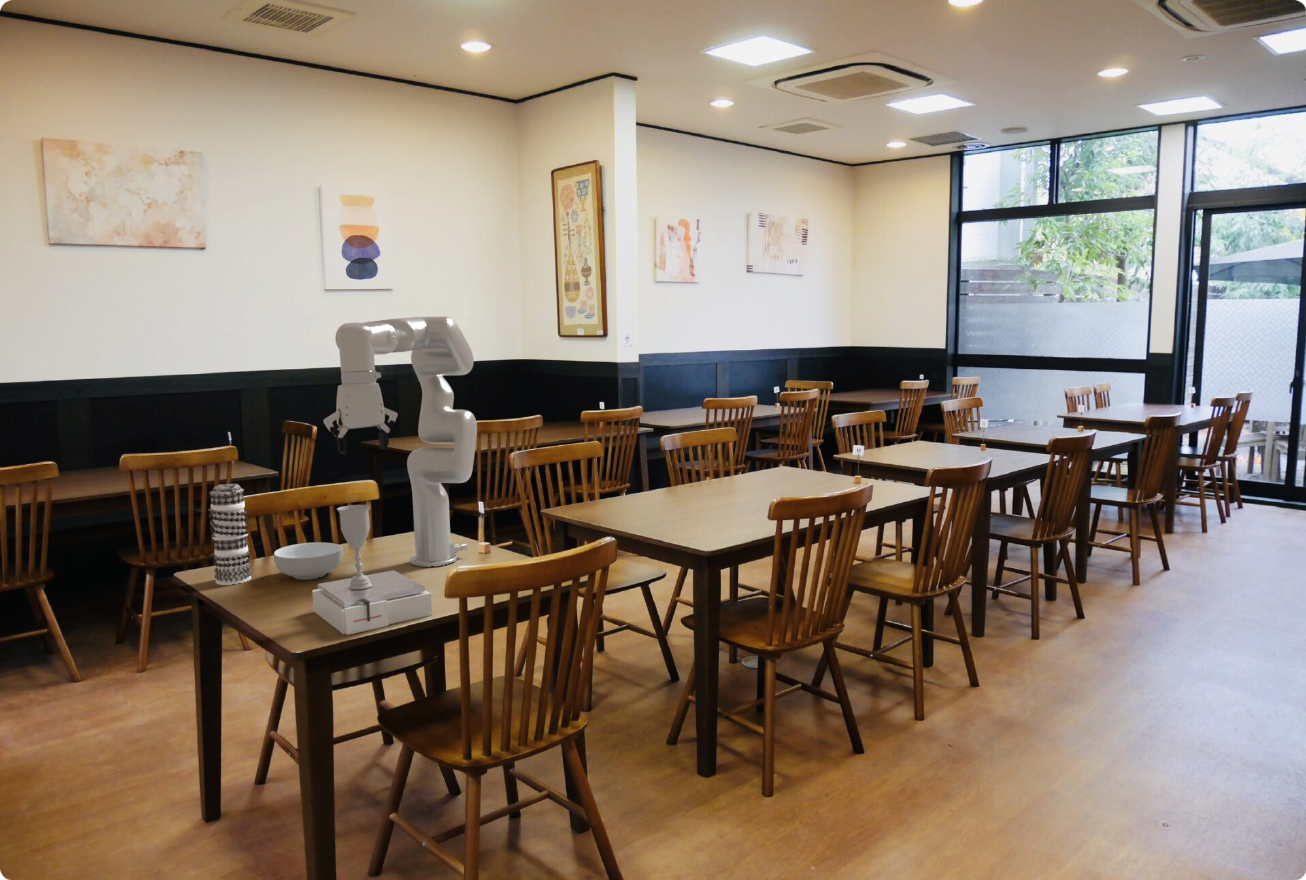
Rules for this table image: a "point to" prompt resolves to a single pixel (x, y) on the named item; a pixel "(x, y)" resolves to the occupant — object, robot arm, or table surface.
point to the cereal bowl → (308, 559)
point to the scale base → (371, 611)
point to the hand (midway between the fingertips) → (363, 451)
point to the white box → (371, 589)
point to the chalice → (356, 537)
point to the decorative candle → (229, 534)
